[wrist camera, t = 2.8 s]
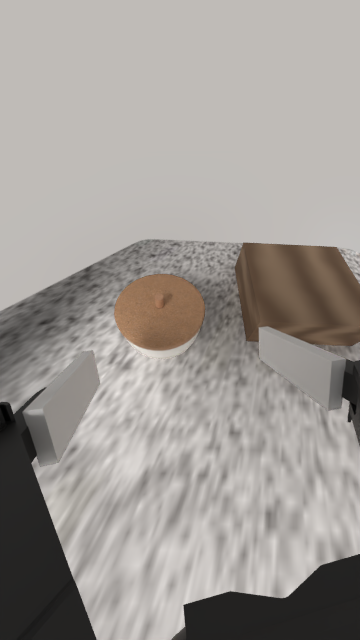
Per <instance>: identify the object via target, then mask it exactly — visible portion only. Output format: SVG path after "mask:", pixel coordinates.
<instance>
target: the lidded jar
mask: <svg viewBox="0 0 360 640" xmlns="http://www.w3.org/2000/svg"><path fill="white" fill-rule="evenodd" d="M114 315H115V321H116V323H117V326H118V328H119V330H120V331H121V333H122V334H123V336H124V337H125V339H126V340H127V342H128V343H129V344H130V345H131V346H132V347H133V348H134V349H135V350H136V351H138V352H139V353H140V354H142V355H144V356H146V357H149V358H153V359H169V358H172V357H176V356H178V355H180V354H182V353H183V352H185V351H186V350H187V349H188V348H189V347H190V346H191V345H192V343H193V342H194V341H195V339H196V337H197V335H198V333H199V331H200V327H201V325H202V323H203V320H204V316H205V304H204V300H203V298H202V296H201V294H200V292H199V291H198V290H197V288H196V287H195V286H194V285H192V284H191V283H190V282H188V281H186V280H185V279H183V278H180V277H177V276H174V275H168V274H155V275H149V276H145V277H142V278H140V279H138V280H135V281H134V282H132V283H131V284H130V285H128V286H127V287H126V288H125V289H124V290H123V291H122V293H121V294H120V296H119V297H118V299H117V302H116V305H115V312H114Z"/></svg>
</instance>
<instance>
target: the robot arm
mask: <svg viewBox="0 0 360 640" xmlns="http://www.w3.org/2000/svg"><path fill="white" fill-rule="evenodd" d="M259 359H260V360H261V361H263V362H264V363H265V364H267V365H268V366H269V367H271V368H272V369H273V370H275V371H276V372H277V373H279V374H280V375H281V376H283V377H284V378H285V379H287V380H288V381H289V382H291V383H292V384H293V385H295V386H296V387H297V388H299V389H300V390H301V391H303V392H304V393H305V394H307V395H308V396H309V397H311V398H312V399H313V400H315V401H316V402H317V403H318V404H320V405H321V406H322V407H324V408H325V409H326V410H328V411H329V410H334V409H339V408H341V406H342V397H343V398H345V399H346V400H348V401H350V404H349V413H348V422H351V420H352V421H353V424H354V428H355V431H356V435H357V438H358V441H359V445H360V360H358V361H355V362H352V361H350V360H348V359H346V358H343V357H341V356H338V355H336V354H333V353H331V352H329V351H326V350H324V349H321V348H319V347H316V346H314V345H312V344H309V343H307V342H304V341H302V340H299V339H297V338H295V337H292V336H290V335H287V334H285V333H282V332H280V331H278V330H275V329H273V328H270V327H268V326H266V327H259ZM99 385H100V380H99V376H98V371H97V366H96V361H95V357H94V352H93V350H91V351H84V352H82V353H81V354H80V355H79V356H78V357H77V358H76V359H75V360H74V361H73V362H72V363H71V364H70V365H69V366H68V367H67V368H66V369H65V370H64V371H63V372H62V373H61V374H60V375H59V376H58V377H57V378H56V379H55V380H54V381H53V382H52V383H51V384H50V385H49V386H48V387H46V388H43V389H42V390H40V391H39V392H37V393H36V394H35V395H33V396H32V397H31V398H30V399H29V401H27V402H26V403H25V404H24V406H22V407H21V408H20V409H19V410H18V411H17V412H16V413H15V414H14V415H13V412H12V409H11V406H10V404H9V403H8V402H0V640H96V637H95V634H94V631H93V629H92V626H91V623H90V621H89V618H88V615H87V612H86V610H85V607H84V604H83V602H82V599H81V596H80V594H79V591H78V588H77V586H76V583H75V581H74V579H73V577H72V574H71V571H70V568H69V566H68V563H67V560H66V557H65V555H64V552H63V549H62V546H61V544H60V541H59V538H58V536H57V533H56V530H55V527H54V525H53V522H52V519H51V516H50V514H49V511H48V508H47V505H46V503H45V500H44V497H43V494H42V492H41V489H40V486H39V483H38V481H37V478H36V475H35V473H34V470H33V467H32V464H31V463H32V461H33V460H34V458H35V457H36V456H37V459H38V462H39V465H40V466H46V465H51V464H56V463H59V461H60V459H61V457H62V455H63V454H64V452H65V450H66V448H67V446H68V444H69V442H70V440H71V438H72V436H73V434H74V433H75V431H76V429H77V427H78V425H79V423H80V421H81V419H82V417H83V415H84V413H85V411H86V410H87V408H88V406H89V404H90V402H91V400H92V398H93V396H94V394H95V392H96V390H97V389H98V387H99ZM184 616H185V627H184V628H183V629H182V630H181V631H180V632H179V633H177V634H176V635H175V636H174V637H173V638H172V640H360V554H358V555H355V556H351V557H348V558H344V559H341V560H338V561H334V562H331V563H327V564H324V565H321V566H320V567H319V568H318V569H317V570H315V571H314V572H313V573H312V574H311V575H310V576H309V577H308V578H307V579H306V580H305V581H304V582H303V583H302V584H301V585H300V586H299V587H298V588H297V589H296V590H295V591H294V592H293V593H291V594H290V595H289V596H288V597H286V598H274V597H267V596H260V595H253V594H246V593H239V592H231V591H230V592H227V593H223V594H220V595H216V596H213V597H209V598H206V599H202V600H199V601H195V602H192V603H188V604H185V605H184Z"/></svg>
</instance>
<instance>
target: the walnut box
mask: <svg viewBox="0 0 360 640" xmlns="http://www.w3.org/2000/svg"><path fill="white" fill-rule="evenodd" d="M235 272H236V278H237V284H238V291H239V297H240V303H241V309H242V315H243V322H244V328H245V334H246V340H247V341H259V327H266V326H268V327H270V328H273V329H275V330H278V331H280V332H282V333H285V334H287V335H290V336H292V337H295V338H297V339H299V340H302V341H304V342H307V343H309V344H320V345H340V346H353V345H354V344H356V343H358V342H360V284H359V283H358V281H357V279H356V278H355V276H354V275H353V273H352V271H351V270H350V268H349V267H348V265H347V263H346V262H345V260H344V259H343V257H342V255H341V254H340V252H339V250H338V249H337V247H324V246H303V245H282V244H261V243H243V246H242V249H241V251H240V254H239V257H238V260H237V263H236V266H235Z"/></svg>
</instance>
